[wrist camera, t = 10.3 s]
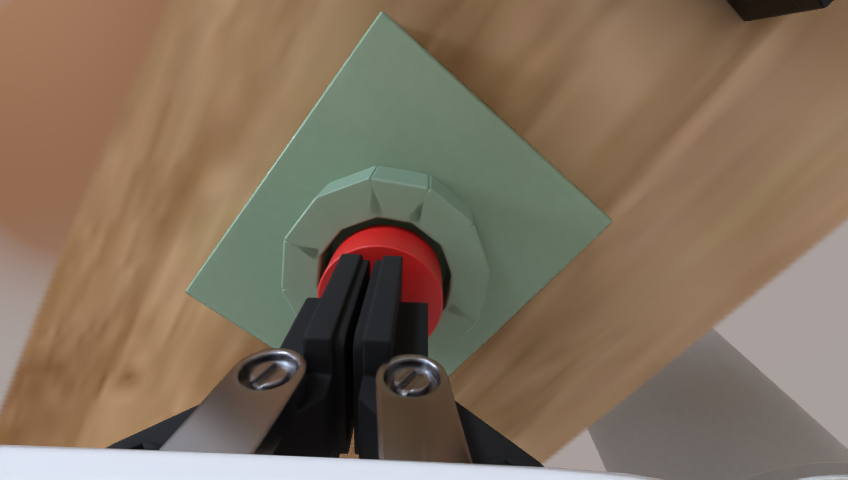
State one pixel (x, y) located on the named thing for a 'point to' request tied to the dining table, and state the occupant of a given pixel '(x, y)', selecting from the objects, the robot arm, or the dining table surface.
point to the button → (417, 264)
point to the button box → (401, 201)
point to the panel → (774, 7)
